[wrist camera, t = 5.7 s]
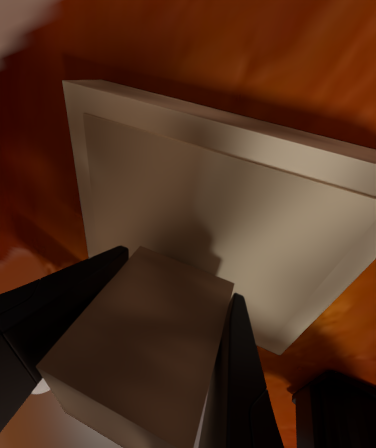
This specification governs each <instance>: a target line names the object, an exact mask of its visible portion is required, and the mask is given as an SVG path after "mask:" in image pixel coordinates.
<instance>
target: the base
mask: <svg viewBox="0 0 376 448" xmlns="http://www.w3.org/2000/svg"><path fill="white" fill-rule="evenodd" d="M62 83H63V90H64V96H65V103H66V110H67V116H68V123H69V129H70V136H71V143H72V149H73V156H74V163H75V169H76V176H77V182H78V189H79V196H80V202H81V209H82V216H83V222H84V229H85V235H86V242H87V249H88V255H89V258H91V257H93V256H95V255H98V254H100V253H102V252H105V251H107V250H110V249H112V248H114V247H117V246H119V245H122V246H124V247H127V248H128V249H129V258H130V257H131V256H132V255H133V253H134V252H135V251H136V250H137V249H138V248H139V246H142V247H145V248H147V249H150V250H152V251H155V252H157V253H160V254H162V255H165V256H167V257H170V258H172V259H175V260H177V261H180V262H182V263H185V264H187V265H190V266H192V267H195V268H197V269H200V270H202V271H205V272H207V273H210V274H212V275H215V276H217V277H220V278H222V279H225V280H227V281H230V282H232V283H235V284H234V288H233V292H232V296H233V294H234V293H238V294H241V295H243V296H244V298H245V302H246V306H247V310H248V314H249V318H250V322H251V326H252V330H253V334H254V338H255V342H256V345H257V346H260V347H262V348H264V349H266V350H268V351H271V352H273V353H275V354H277V355H281V354H282V353H283V352H284V351H285V350H286V349H287V348H288V347H289V346H290V345H291V344H292V343H293V342H294V341H295V340H296V339H297V338H298V337H299V336H300V335H301V334H302V333H303V332H304V331H305V330H306V328H307V327H308V326H309V325H310V324H311V323H312V322H313V321H314V320H315V319H316V318H317V317H318V316H319V315H320V314H321V313H322V312H323V311H324V310H325V309H326V308H327V307H328V306H329V305H330V304H331V303H332V302H333V301H334V300H335V299H336V298H337V297H338V296H339V295H340V294H341V293H342V292H343V291H344V290H345V289H346V288H347V287H348V286H349V285H350V284H351V283H352V282H353V281H354V280H355V279H356V278H357V277H358V276H359V275H360V274H361V273H362V272H363V271H364V270H365V269H366V268H367V267H368V266H369V265H370V264H371V263H372V262H373V261H374V260H375V259H376V150H375V149H371V148H367V147H363V146H359V145H355V144H351V143H348V142H344V141H340V140H336V139H332V138H328V137H324V136H320V135H316V134H312V133H308V132H304V131H301V130H297V129H293V128H289V127H285V126H281V125H277V124H273V123H269V122H265V121H261V120H257V119H254V118H250V117H246V116H242V115H238V114H234V113H230V112H226V111H222V110H218V109H214V108H211V107H207V106H203V105H199V104H195V103H191V102H187V101H183V100H179V99H175V98H171V97H167V96H164V95H160V94H156V93H152V92H148V91H144V90H140V89H136V88H132V87H128V86H124V85H120V84H117V83H113V82H109V81H105V80H62ZM232 296H231V298H232Z"/></svg>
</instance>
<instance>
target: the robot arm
mask: <svg viewBox="0 0 376 448" xmlns="http://www.w3.org/2000/svg"><path fill="white" fill-rule="evenodd" d="M128 260H129V249H128V248H127V247H124V246H122V245H119V246H117V247H114V248H112V249H110V250H107V251H105V252H102V253H100V254H98V255H95V256H93V257H91V258H88V259H86V260H83V261H81V262H79V263H76V264H74V265H71V266H69V267H67V268H64V269H62V270H60V271H57V272H55V273H52V274H50V275H48V276H45V277H43V278H41V279H38V280H36V281H33V282H31V283H28V284H26V285H23V286H21V287H19V288H16V289H13V290H11V291H8V292H5V293H2V294H0V432H1V431H2V430H3V428H4V427H5V426H6V425H7V423H8V422H9V420H10V419H11V418H12V417H13V416H14V414H15V413H16V412H17V410H18V409H19V408H20V407H21V405H22V404H23V403H24V401H25V400H26V399H27V398H28V396H29V395H30V394H31V393H32V391H33V390H34V389H35V388H36V386H37V384H38V383H39V382H40V381H41V380H42V378H43V377H42V376H41V374H40V372H39V371H38V369H37V368H36V366H37V364H38V363H39V362H40V361H41V360H42V359H43V357H44V356H45V355H46V354H47V353H48V352H49V350H50V349H51V348H52V347H53V346H54V345H55V344H56V342H57V341H58V340H59V339H60V338H61V337H62V335H63V334H64V333H65V332H66V331H67V330H68V329H69V327H70V326H71V325H72V324H73V323H74V322H75V320H76V319H77V318H78V317H79V316H80V315H81V313H82V312H83V311H84V310H85V309H86V308H87V307H88V305H89V304H90V303H91V302H92V301H93V300H94V298H95V297H96V296H97V295H98V294H99V293H100V292H101V290H102V289H103V288H104V287H105V286H106V285H107V284H108V283H109V282H110V281H111V279H112V278H113V277H114V276H115V275H116V274H117V273H118V271H119V270H120V269H121V268H122V267H123V266H124V264H125V263H126V262H127V261H128ZM266 388H267V386H266V382H265V378H264V374H263V370H262V366H261V362H260V358H259V354H258V350H257V346H256V342H255V338H254V334H253V330H252V326H251V322H250V318H249V314H248V310H247V306H246V302H245V298H244V296H243V295H241V294H238V293H234V294H233V296H232V298H231V300H230V302H229V306H228V310H227V314H226V318H225V322H224V326H223V330H222V336H221V340H220V344H219V348H218V352H217V356H216V360H215V364H214V368H213V372H212V376H211V380H210V384H209V390H208V395H207V401H206V407H205V412H204V418H203V424H202V429H201V435H200V440H199V446H198V448H284V446H283V442H282V439H281V436H280V433H279V430H278V427H277V424H276V420H275V417H274V413H273V409H272V406H271V402H270V398H269V394H268V390H267V389H266ZM265 389H266V390H265ZM292 402H293V403H294V404H296V435H297V448H376V390H375V389H372V388H370V387H368V386H366V385H363V384H361V383H359V382H357V381H354V380H352V379H350V378H347V377H345V376H343V375H341V374H338V373H336V372H333V371H327V372H325V373H323V374H322V375H321V376H319V377H318V378H316V379H315V380H313V381H312V382H311V383H309V384H308V385H306V386H305V387H303V388H302V389H300V390H299V391H298V392H296V393H295V394H293V395H292Z"/></svg>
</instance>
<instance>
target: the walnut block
mask: <svg viewBox="0 0 376 448" xmlns="http://www.w3.org/2000/svg"><path fill="white" fill-rule="evenodd" d="M234 284H235V283H232V282H230V281H227V280H225V279H222V278H220V277H217V276H215V275H212V274H210V273H207V272H205V271H202V270H200V269H197V268H195V267H192V266H190V265H187V264H185V263H182V262H180V261H177V260H175V259H172V258H170V257H167V256H165V255H162V254H160V253H157V252H155V251H152V250H150V249H147V248H145V247H142V246H139V248H138V249H137V250H136V251H135V252H134V253H133V255H132V256H131V257H130V258H129V260H128V261H127V262H126V263H125V264H124V266H123V267H122V268H121V269H120V270H119V271H118V273H117V274H116V275H115V276H114V277H113V278H112V279H111V281H110V282H109V283H108V284H107V285H106V286H105V287H104V288H103V289H102V290H101V292H100V293H99V294H98V295H97V296H96V297H95V298H94V300H93V301H92V302H91V303H90V304H89V305H88V307H87V308H86V309H85V310H84V311H83V312H82V313H81V315H80V316H79V317H78V318H77V319H76V320H75V322H74V323H73V324H72V325H71V326H70V327H69V329H68V330H67V331H66V332H65V333H64V334H63V335H62V337H61V338H60V339H59V340H58V341H57V342H56V344H55V345H54V346H53V347H52V348H51V349H50V350H49V352H48V353H47V354H46V355H45V356H44V357H43V359H42V360H41V361H40V362H39V363H38V364H37V366H36V368H37V369H38V371H39V372H40V374H41V376H42V377H43V379H44V380H45V382H46V383H47V385H48V386H49V388H50V390H51V391H52V393H53V394H54V396H55V397H56V399H57V401H58V402H59V404H60V405H61V407H62V408H63V410H64V412H66V413H67V414H69V415H70V416H72V417H74V418H75V419H77V420H79V421H80V422H82V423H84V424H85V425H87V426H88V427H90V428H92V429H93V430H95V431H97V432H98V433H100V434H102V435H103V436H105V437H107V438H108V439H110V440H112V441H113V442H115V443H116V444H118V445H120V446H121V447H123V448H194V444H195V440H196V436H197V432H198V428H199V424H200V420H201V416H202V412H203V408H204V404H205V400H206V396H207V392H208V388H209V384H210V380H211V376H212V372H213V368H214V364H215V360H216V356H217V352H218V348H219V344H220V340H221V336H222V330H223V326H224V322H225V318H226V314H227V310H228V306H229V302H230V300H231V296H232V292H233V288H234Z"/></svg>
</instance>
